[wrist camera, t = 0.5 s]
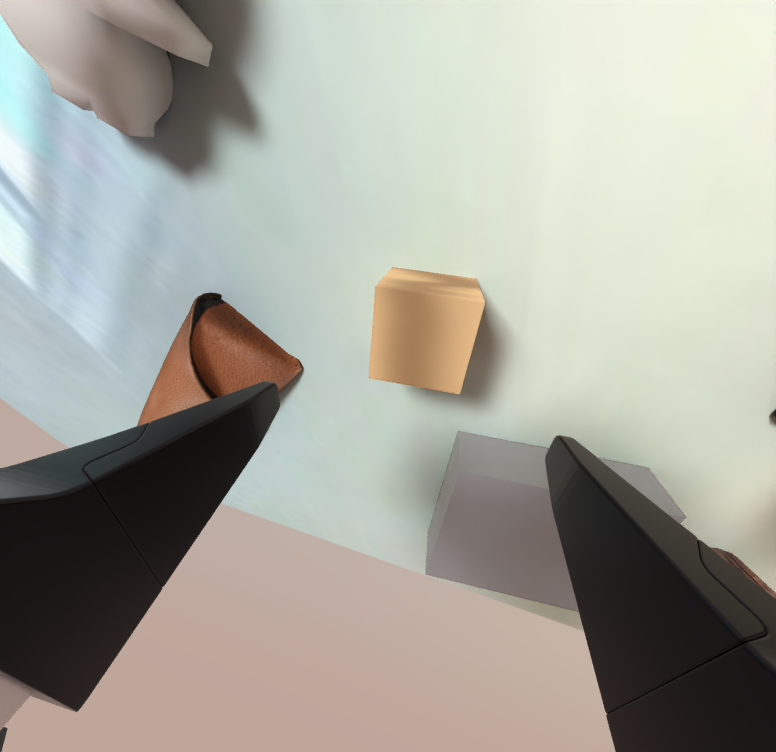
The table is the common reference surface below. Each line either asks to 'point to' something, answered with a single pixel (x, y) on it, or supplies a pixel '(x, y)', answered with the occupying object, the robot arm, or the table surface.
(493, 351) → the table surface
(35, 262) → the table surface
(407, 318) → the oak cube
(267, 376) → the sunglasses case
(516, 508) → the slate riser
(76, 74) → the bunny figurine
